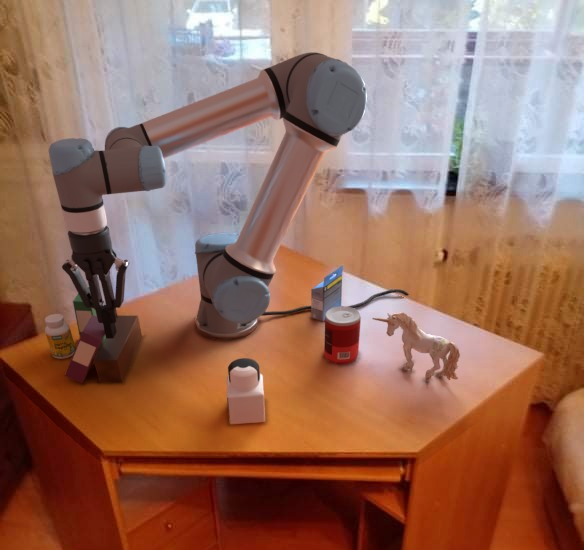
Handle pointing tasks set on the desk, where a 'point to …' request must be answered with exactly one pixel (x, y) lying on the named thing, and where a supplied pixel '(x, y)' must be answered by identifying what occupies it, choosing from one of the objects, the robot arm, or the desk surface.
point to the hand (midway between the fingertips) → (111, 335)
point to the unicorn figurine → (424, 345)
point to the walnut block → (118, 350)
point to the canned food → (342, 334)
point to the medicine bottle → (245, 392)
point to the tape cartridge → (326, 295)
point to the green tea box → (83, 314)
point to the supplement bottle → (59, 336)
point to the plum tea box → (86, 350)
